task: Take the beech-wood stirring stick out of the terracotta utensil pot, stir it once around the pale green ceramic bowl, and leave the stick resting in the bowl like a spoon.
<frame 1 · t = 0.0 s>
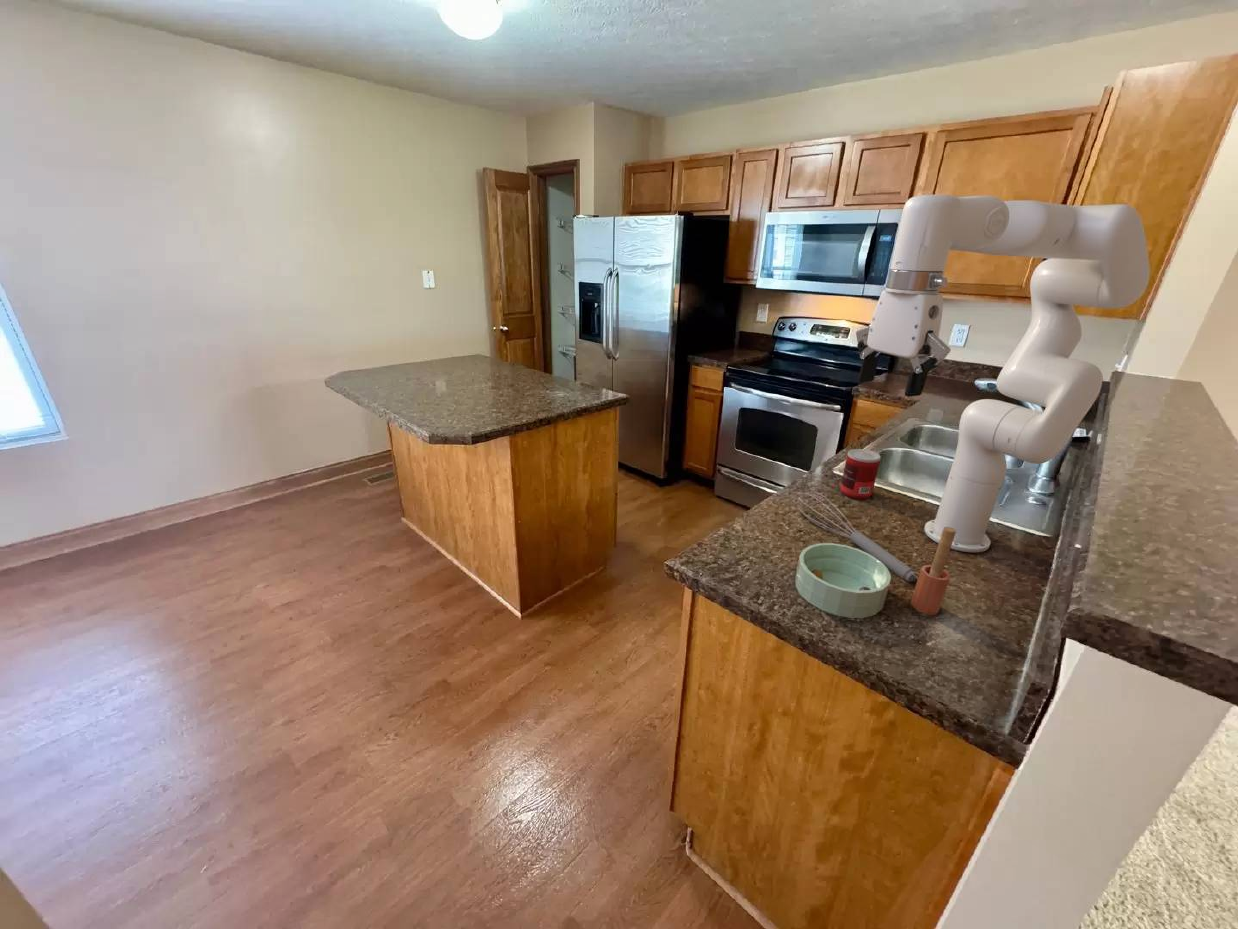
hand: (888, 388, 88), 37 cm above the counter, tool pointing down, fingers open, 9 cm apart
mixing bowl: (837, 592, 96), on the counter
stirring stick: (924, 606, 92), point 1 cm above the counter, touching utensil pot
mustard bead: (816, 575, 98), point 2 cm above the counter, touching mixing bowl
canned food: (855, 493, 135), on the counter
walnut bead: (865, 593, 93), point 2 cm above the counter, touching mixing bowl
utensil pot: (923, 609, 92), on the counter
kitchen whisk: (852, 544, 112), on the counter
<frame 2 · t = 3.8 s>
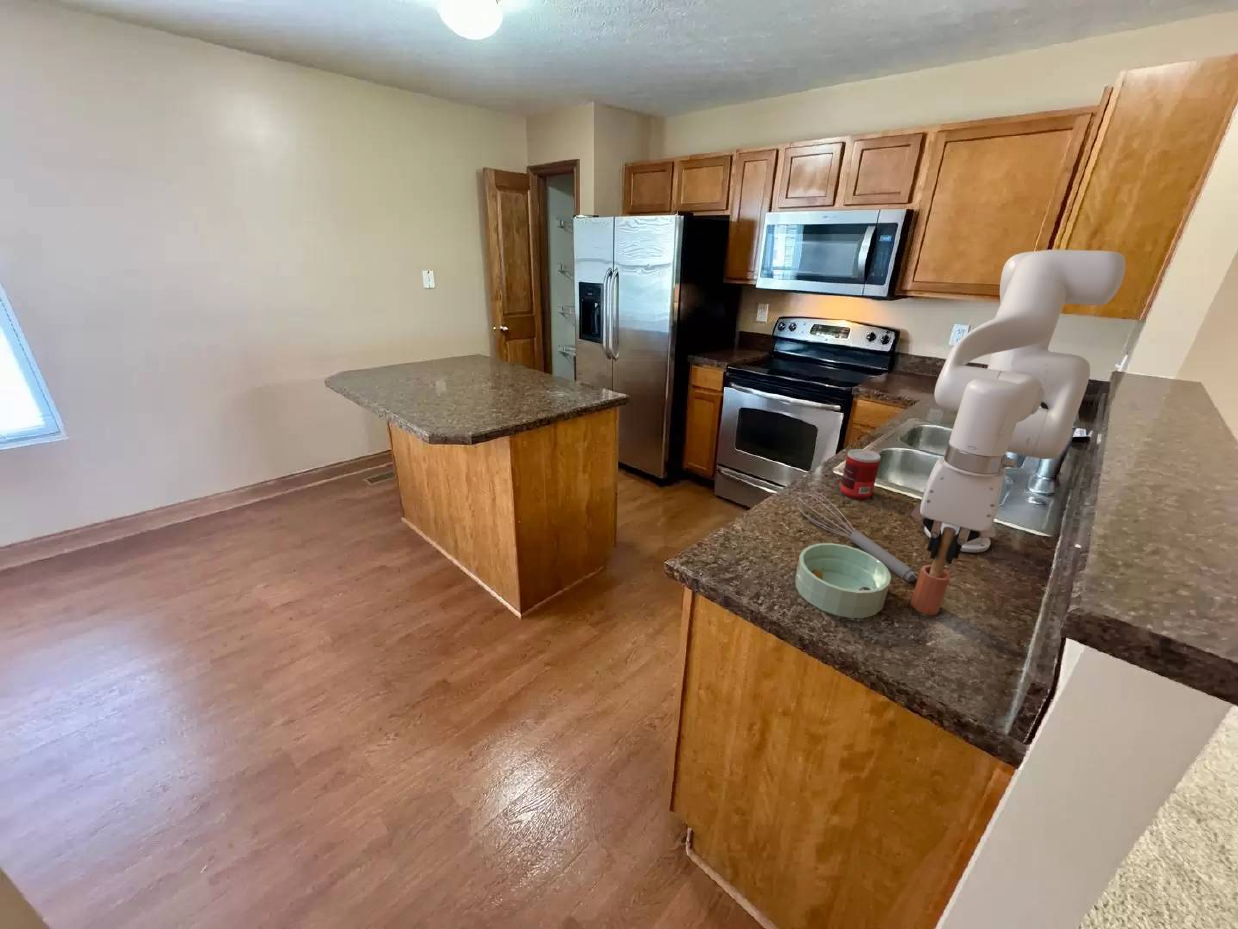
hand: (940, 556, 88), 11 cm above the counter, tool pointing down, fingers closed on stirring stick, 1 cm apart
stirring stick: (924, 606, 92), point 1 cm above the counter, touching gripper, utensil pot
everything else where it was.
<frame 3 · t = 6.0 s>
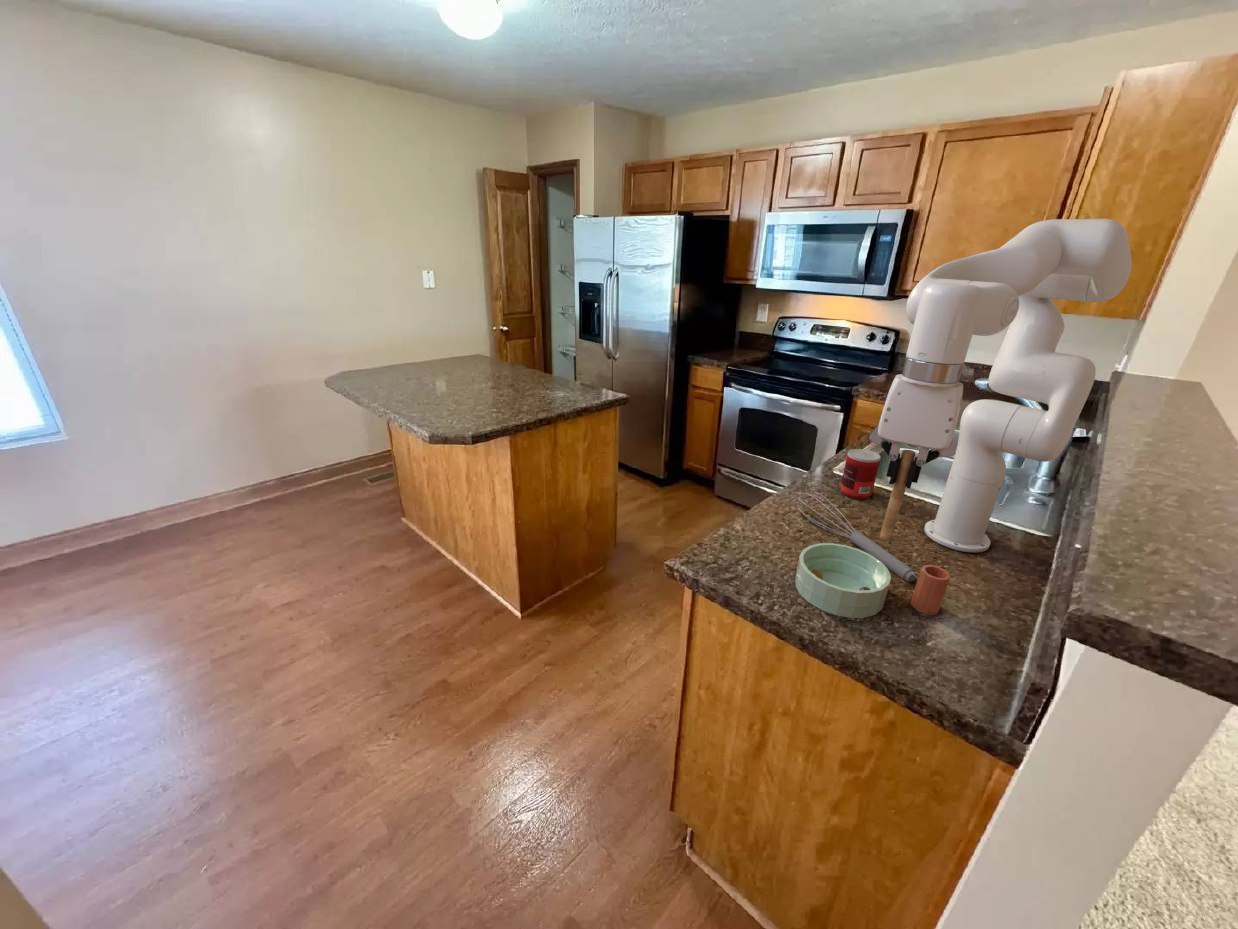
hand: (900, 482, 83), 24 cm above the counter, tool pointing down, fingers closed on stirring stick
stirring stick: (885, 538, 87), point 14 cm above the counter, touching gripper
everything else where it was.
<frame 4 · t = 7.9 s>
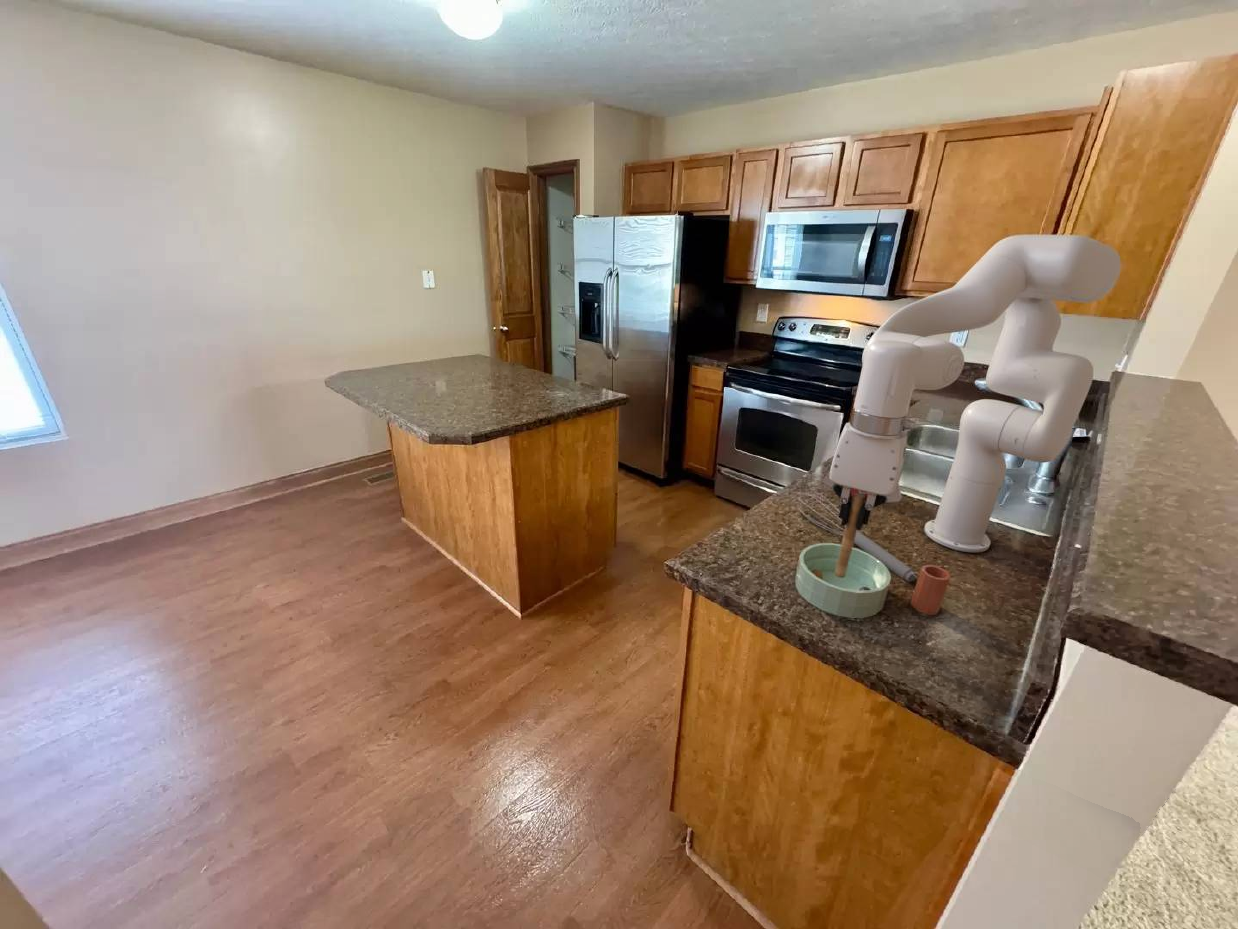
hand: (852, 523, 87), 16 cm above the counter, tool pointing down, fingers closed on stirring stick
stirring stick: (839, 575, 91), point 6 cm above the counter, touching gripper
everything else where it was.
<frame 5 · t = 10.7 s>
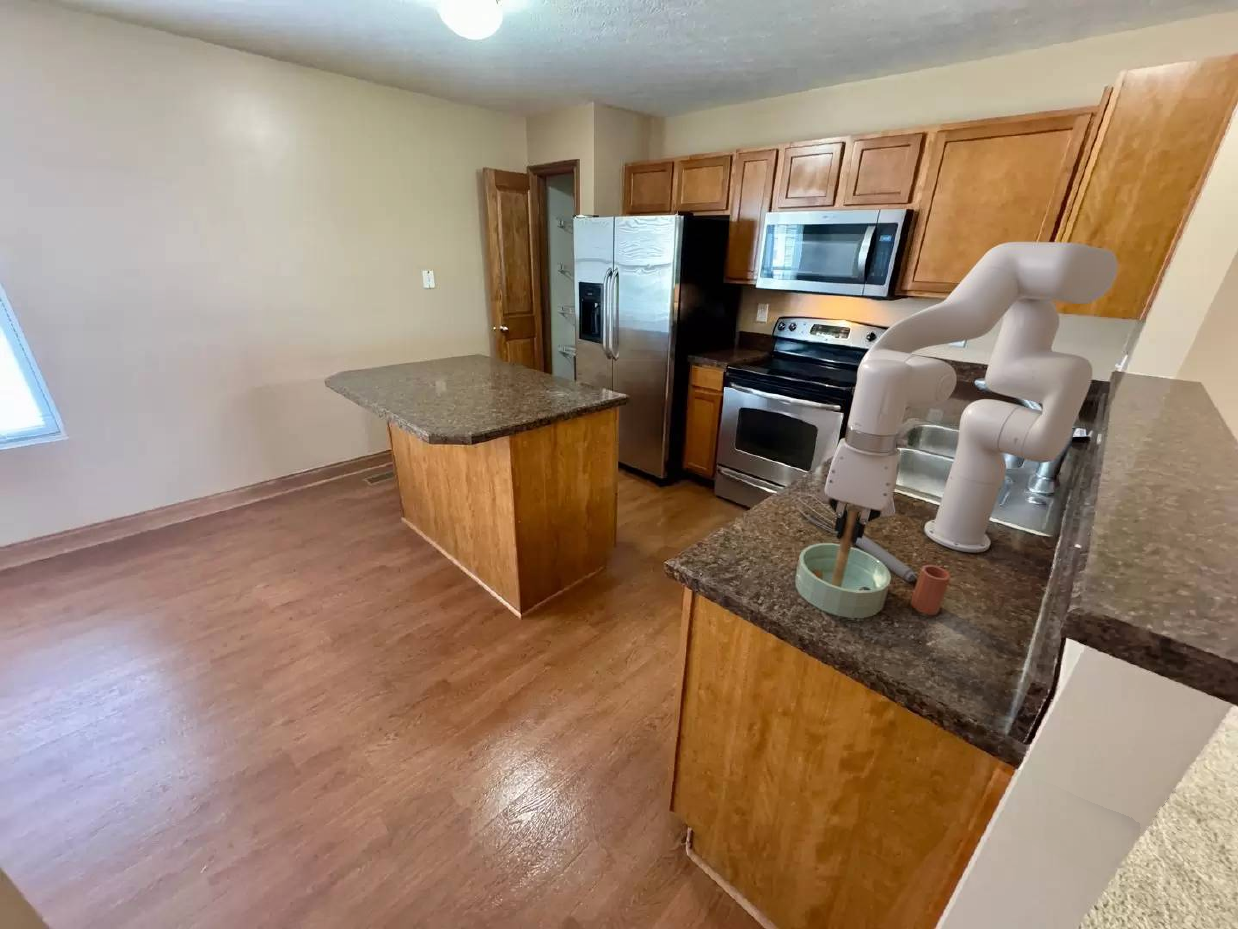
hand: (847, 537, 89), 13 cm above the counter, tool pointing down, fingers closed on stirring stick, 1 cm apart
stirring stick: (835, 586, 93), point 3 cm above the counter, touching gripper
everything else where it was.
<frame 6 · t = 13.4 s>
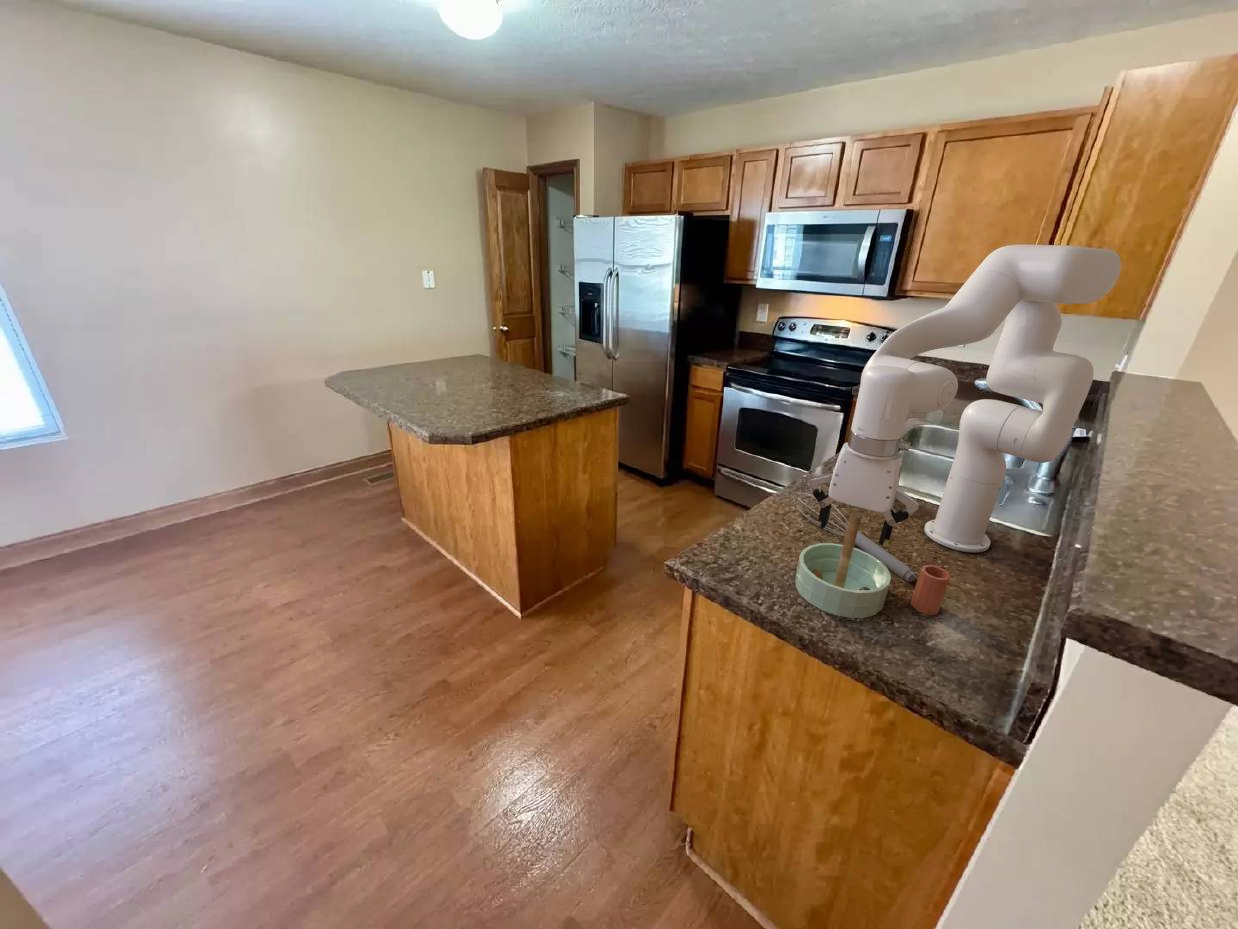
hand: (852, 533, 91), 13 cm above the counter, tool pointing down, fingers open, 9 cm apart
stirring stick: (837, 590, 95), point 1 cm above the counter, touching mixing bowl
everything else where it was.
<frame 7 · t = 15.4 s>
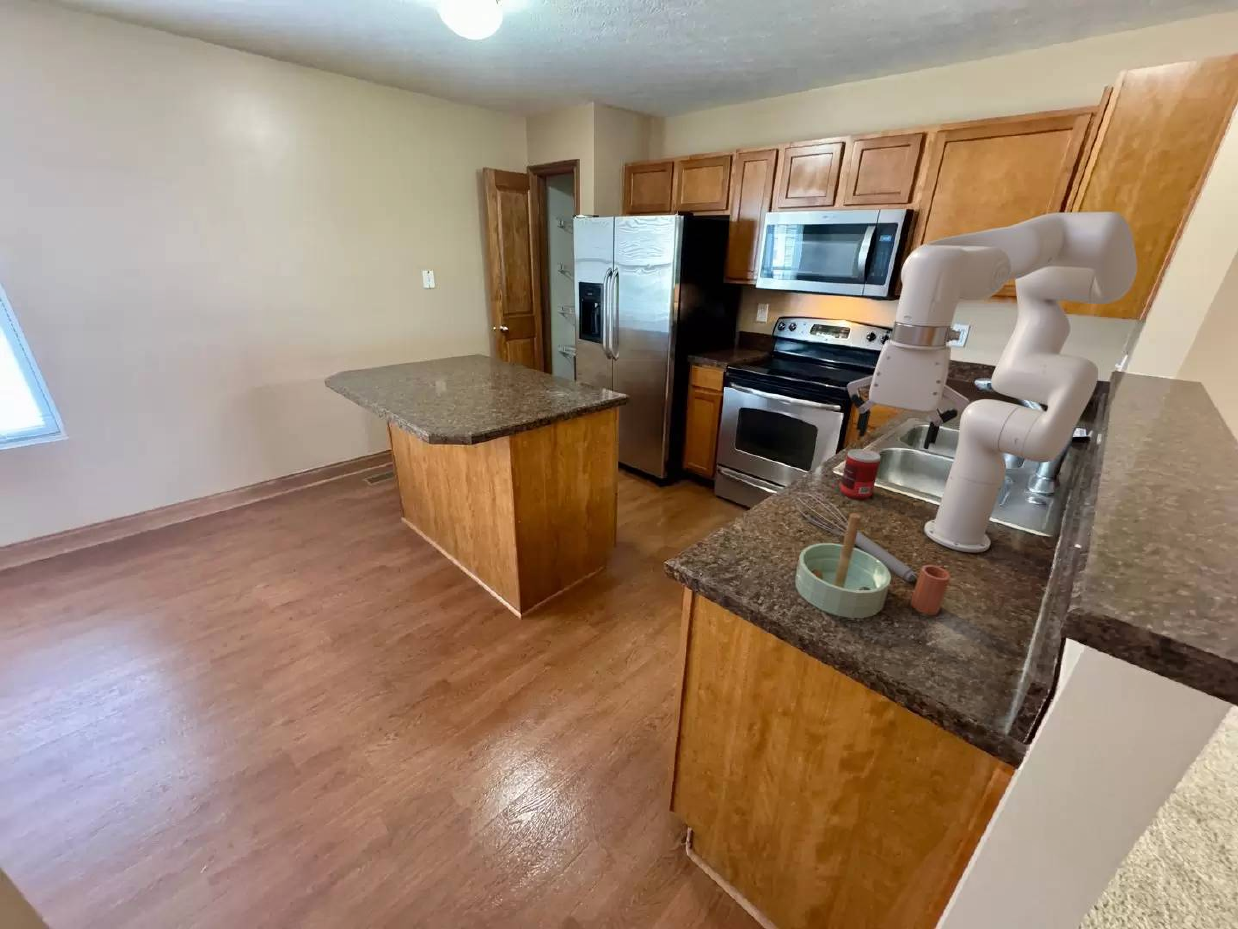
hand: (893, 440, 85), 30 cm above the counter, tool pointing down, fingers open, 9 cm apart
nothing on the counter moved.
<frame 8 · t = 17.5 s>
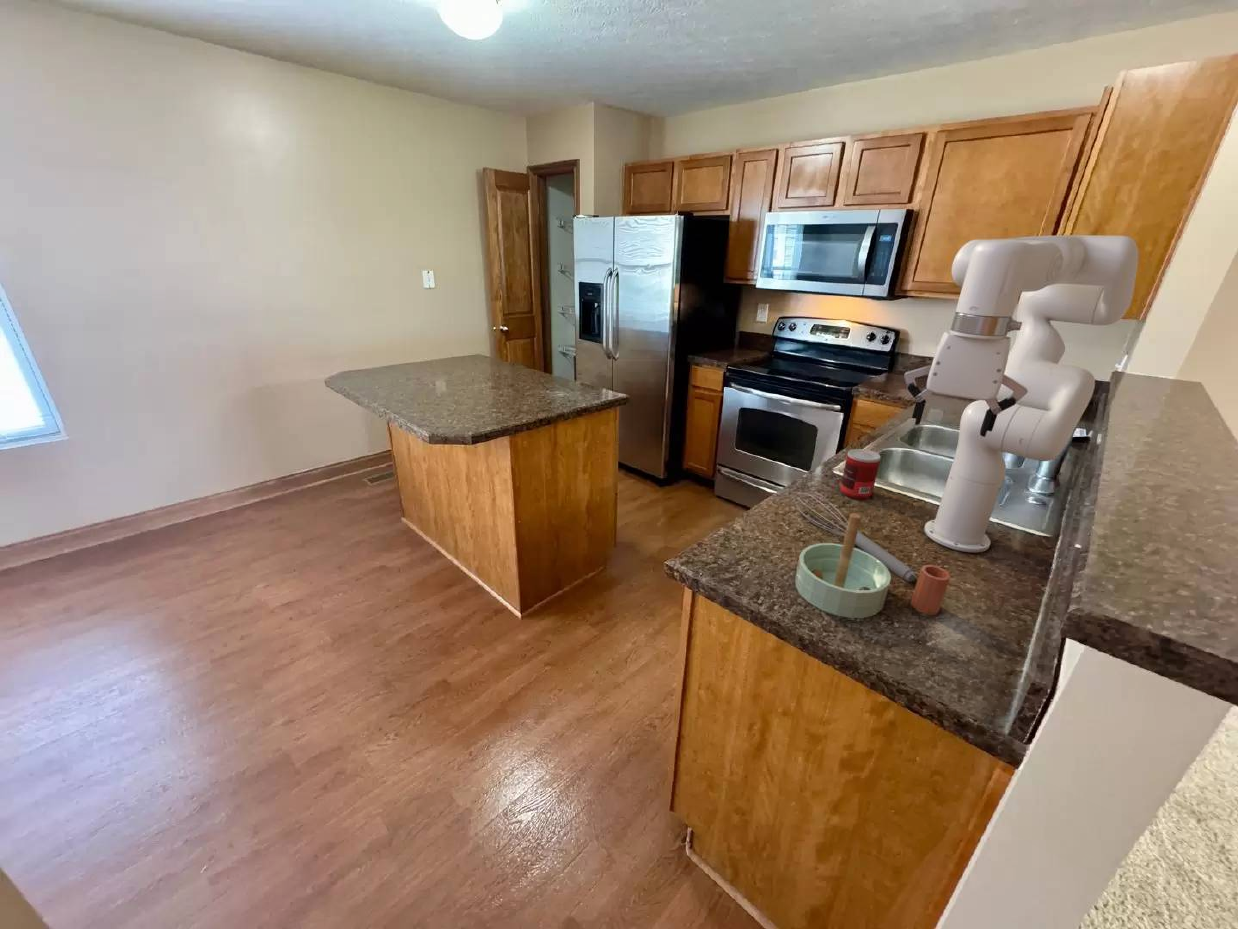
hand: (949, 428, 88), 31 cm above the counter, tool pointing down, fingers open, 9 cm apart
nothing on the counter moved.
at the end: stirring stick moved 14.7 cm from its start; stirring stick inside the target area in the mixing bowl (0.2 cm from its centre), point 0.6 cm above the mixing bowl's base; the gripper is holding nothing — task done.
